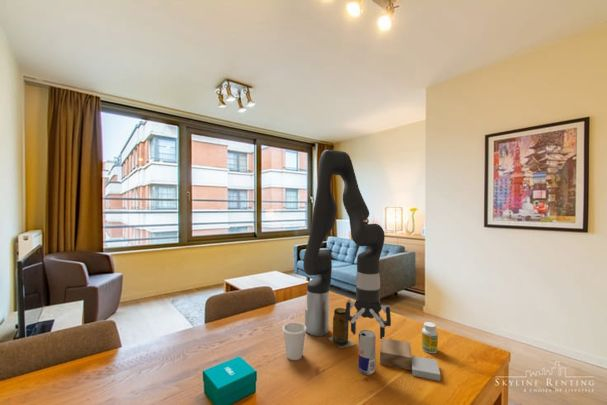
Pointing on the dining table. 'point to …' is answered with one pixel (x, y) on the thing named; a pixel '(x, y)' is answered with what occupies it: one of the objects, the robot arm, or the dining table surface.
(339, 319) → the condiment
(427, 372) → the slate coaster
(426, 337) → the supplement bottle
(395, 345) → the walnut base
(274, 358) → the dining table surface
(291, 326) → the dixie cup
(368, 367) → the energy drink
